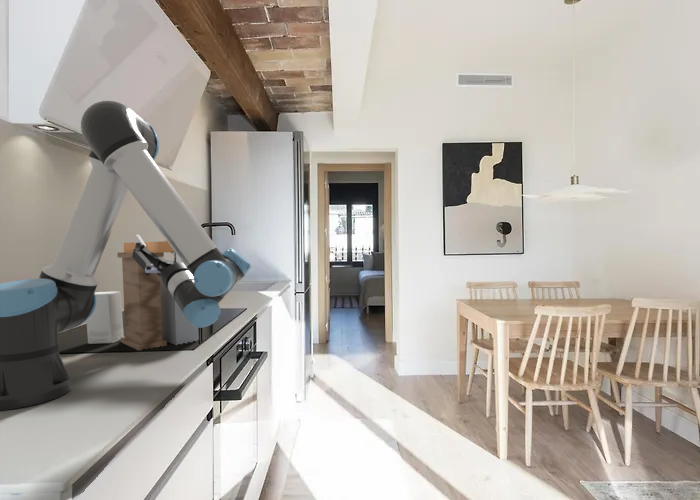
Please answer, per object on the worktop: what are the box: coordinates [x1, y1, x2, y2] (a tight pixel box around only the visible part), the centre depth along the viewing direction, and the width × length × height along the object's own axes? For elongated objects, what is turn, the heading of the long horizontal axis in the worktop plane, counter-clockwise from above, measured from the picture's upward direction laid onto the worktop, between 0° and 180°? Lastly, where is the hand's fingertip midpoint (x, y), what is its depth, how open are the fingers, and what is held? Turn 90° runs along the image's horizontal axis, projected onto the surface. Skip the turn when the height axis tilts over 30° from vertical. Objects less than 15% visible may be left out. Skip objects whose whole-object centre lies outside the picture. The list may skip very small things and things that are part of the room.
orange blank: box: [123, 241, 175, 253], centre depth 129 cm, size 4×26×3 cm, turn 47°
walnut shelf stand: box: [117, 251, 168, 351], centre depth 133 cm, size 8×16×28 cm, turn 44°
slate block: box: [160, 276, 200, 346], centre depth 138 cm, size 7×16×20 cm, turn 44°
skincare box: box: [85, 290, 125, 345], centre depth 137 cm, size 8×7×16 cm
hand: (151, 238), depth 125 cm, fingers open, 7 cm apart
